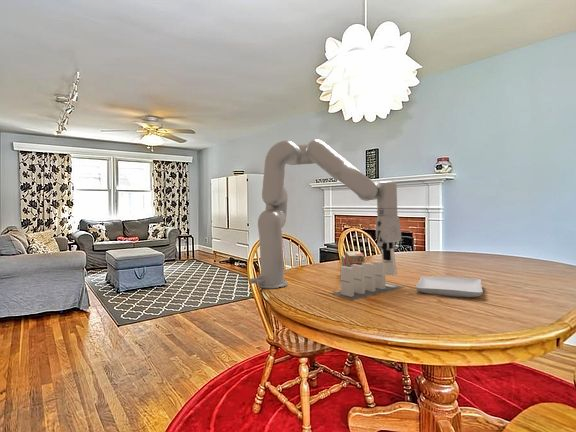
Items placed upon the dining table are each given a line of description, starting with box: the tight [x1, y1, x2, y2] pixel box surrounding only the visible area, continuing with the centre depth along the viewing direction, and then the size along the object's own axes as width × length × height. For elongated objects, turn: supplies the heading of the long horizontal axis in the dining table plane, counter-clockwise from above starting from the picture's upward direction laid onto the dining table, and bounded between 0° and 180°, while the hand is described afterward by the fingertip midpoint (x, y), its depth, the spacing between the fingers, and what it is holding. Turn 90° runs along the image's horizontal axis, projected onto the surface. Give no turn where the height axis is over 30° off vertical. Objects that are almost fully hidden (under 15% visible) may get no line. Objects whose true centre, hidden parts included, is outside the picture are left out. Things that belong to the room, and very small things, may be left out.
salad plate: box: [415, 275, 484, 298], centre depth 127 cm, size 21×21×3 cm
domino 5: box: [380, 248, 398, 276], centre depth 135 cm, size 2×5×10 cm, turn 34°
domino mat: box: [330, 282, 405, 301], centre depth 130 cm, size 28×11×1 cm, turn 124°
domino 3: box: [362, 262, 375, 292], centre depth 130 cm, size 2×5×10 cm, turn 34°
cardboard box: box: [341, 250, 366, 267], centre depth 151 cm, size 21×6×12 cm, turn 0°
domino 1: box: [339, 265, 354, 297], centre depth 123 cm, size 2×5×10 cm, turn 34°
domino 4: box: [371, 260, 386, 289], centre depth 133 cm, size 2×5×10 cm, turn 34°
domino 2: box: [351, 264, 365, 294], centre depth 127 cm, size 2×5×10 cm, turn 34°
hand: (388, 259), depth 135 cm, fingers closed on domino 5, 1 cm apart
